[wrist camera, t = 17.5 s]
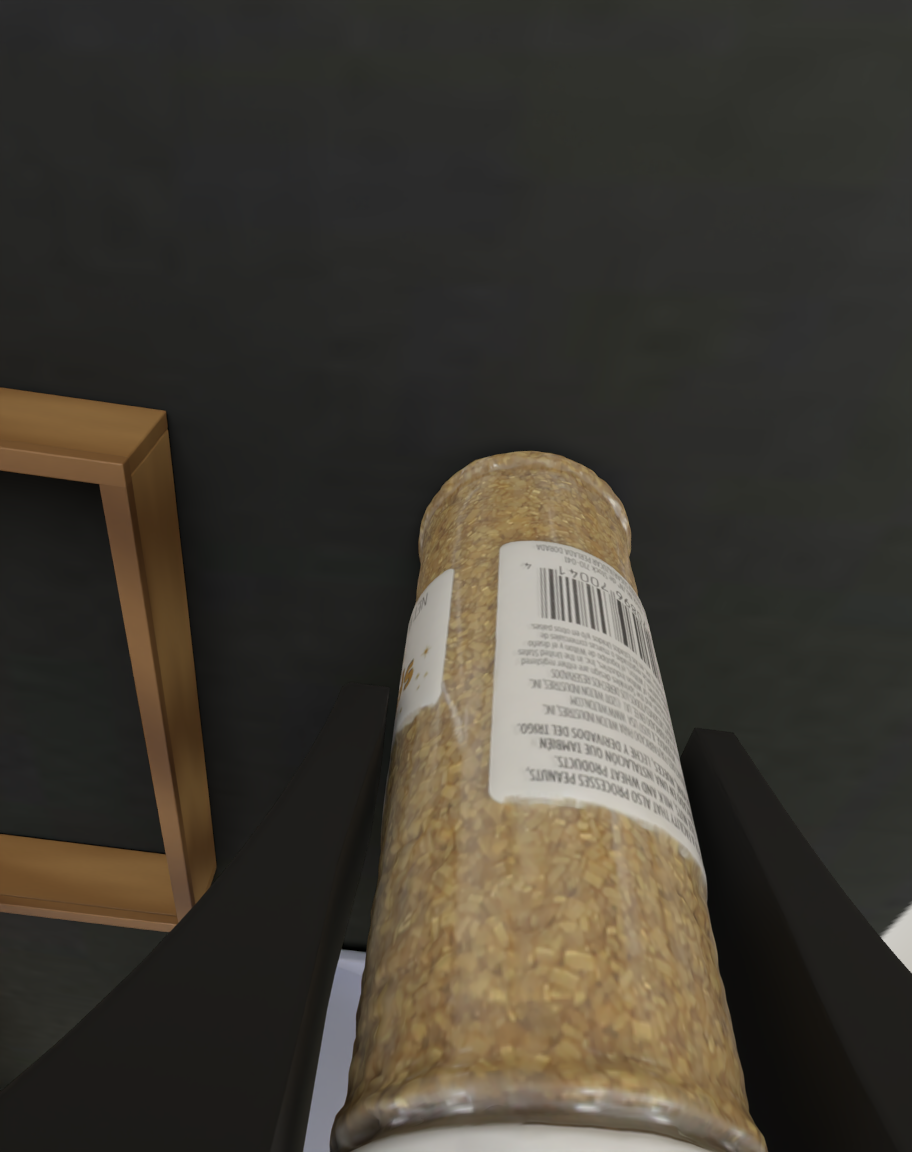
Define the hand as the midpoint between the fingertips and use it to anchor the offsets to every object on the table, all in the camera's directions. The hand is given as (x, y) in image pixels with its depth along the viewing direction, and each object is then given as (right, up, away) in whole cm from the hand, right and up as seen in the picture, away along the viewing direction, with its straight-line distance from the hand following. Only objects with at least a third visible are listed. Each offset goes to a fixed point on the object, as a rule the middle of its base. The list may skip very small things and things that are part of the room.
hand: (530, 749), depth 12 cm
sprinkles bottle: (0, +4, +5) cm, 6 cm away
